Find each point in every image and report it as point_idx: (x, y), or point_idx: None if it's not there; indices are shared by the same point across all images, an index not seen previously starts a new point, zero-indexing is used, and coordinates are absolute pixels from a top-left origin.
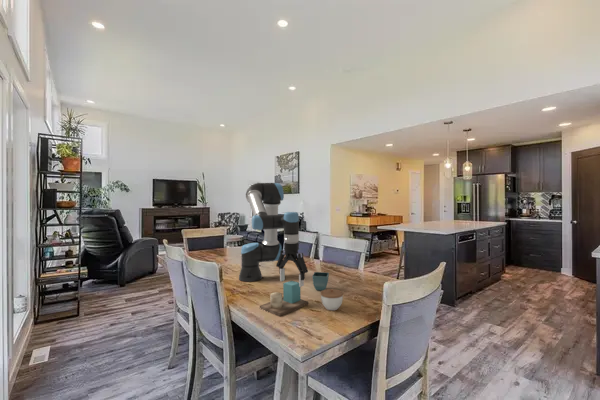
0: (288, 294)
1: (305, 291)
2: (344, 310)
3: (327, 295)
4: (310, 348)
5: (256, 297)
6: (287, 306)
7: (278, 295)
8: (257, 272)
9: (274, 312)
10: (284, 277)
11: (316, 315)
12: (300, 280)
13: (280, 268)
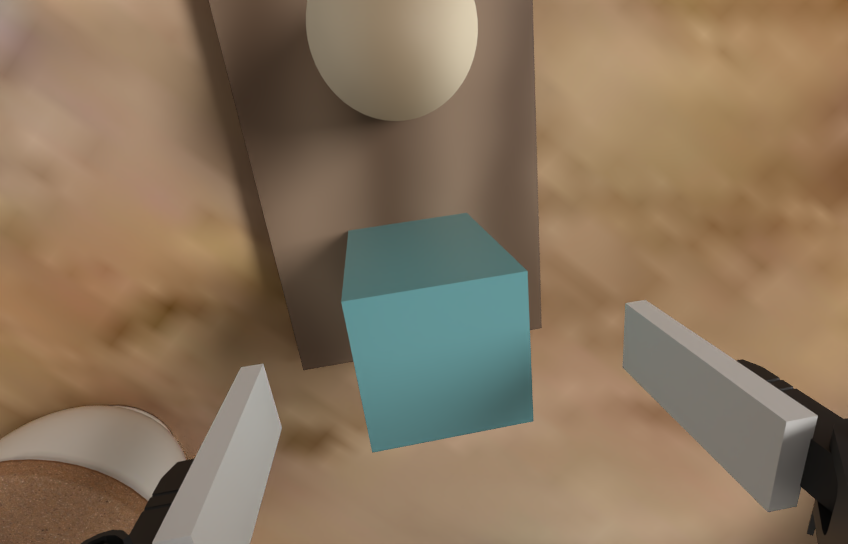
0: (405, 245)
1: (542, 486)
2: None
3: None
4: None
5: (764, 104)
6: (313, 148)
7: (328, 23)
8: None
9: None
10: (646, 386)
11: (38, 263)
12: (212, 438)
13: (826, 437)
